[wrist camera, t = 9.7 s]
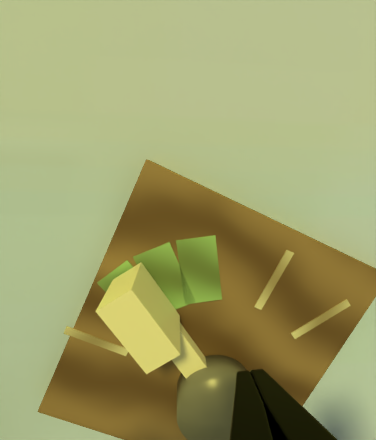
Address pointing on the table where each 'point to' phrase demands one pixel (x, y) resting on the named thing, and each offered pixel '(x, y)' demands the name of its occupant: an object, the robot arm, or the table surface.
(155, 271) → the brown flat wooden board
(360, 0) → the table surface
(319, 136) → the table surface
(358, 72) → the table surface
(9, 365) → the table surface
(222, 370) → the peg lever
